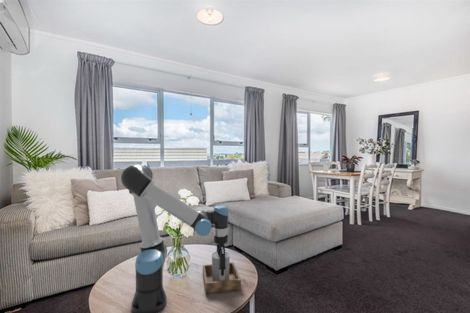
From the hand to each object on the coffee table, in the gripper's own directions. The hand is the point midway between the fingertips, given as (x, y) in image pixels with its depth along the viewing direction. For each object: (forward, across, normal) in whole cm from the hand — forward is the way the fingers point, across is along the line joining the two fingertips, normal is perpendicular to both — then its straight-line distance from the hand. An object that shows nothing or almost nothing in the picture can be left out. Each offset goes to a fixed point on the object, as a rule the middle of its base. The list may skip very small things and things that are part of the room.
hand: (220, 275), depth 127 cm
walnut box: (+4, 0, 0) cm, 4 cm away
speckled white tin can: (+1, 0, 0) cm, 1 cm away
